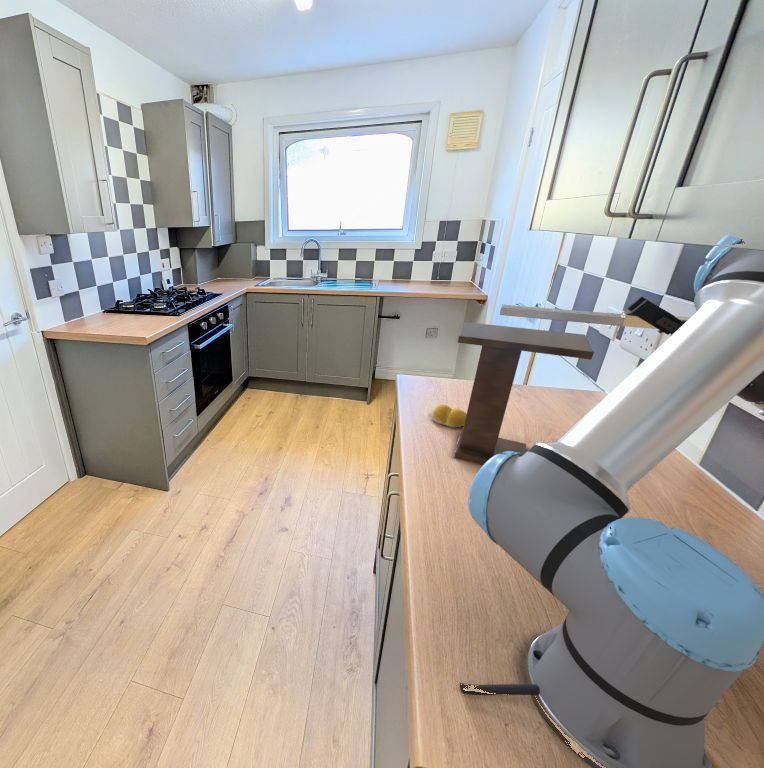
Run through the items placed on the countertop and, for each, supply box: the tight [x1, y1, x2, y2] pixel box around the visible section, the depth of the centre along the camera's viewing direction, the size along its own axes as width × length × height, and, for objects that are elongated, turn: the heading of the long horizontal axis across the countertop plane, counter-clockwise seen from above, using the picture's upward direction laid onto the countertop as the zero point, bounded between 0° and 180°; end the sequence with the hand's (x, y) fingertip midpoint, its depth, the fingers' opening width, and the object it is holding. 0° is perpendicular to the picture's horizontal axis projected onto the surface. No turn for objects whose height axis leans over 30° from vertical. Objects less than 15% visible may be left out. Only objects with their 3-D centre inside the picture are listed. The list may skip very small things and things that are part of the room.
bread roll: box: [429, 403, 467, 429], centre depth 105 cm, size 8×9×4 cm
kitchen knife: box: [499, 304, 692, 330], centre depth 73 cm, size 30×3×2 cm, turn 59°
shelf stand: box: [453, 321, 595, 466], centre depth 86 cm, size 22×12×29 cm, turn 59°
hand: (636, 304), depth 69 cm, fingers closed on kitchen knife, 3 cm apart
